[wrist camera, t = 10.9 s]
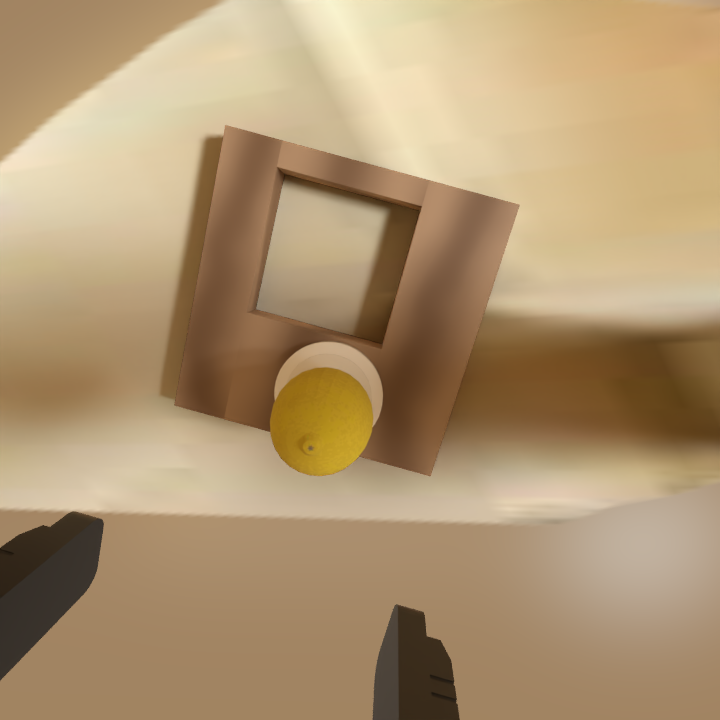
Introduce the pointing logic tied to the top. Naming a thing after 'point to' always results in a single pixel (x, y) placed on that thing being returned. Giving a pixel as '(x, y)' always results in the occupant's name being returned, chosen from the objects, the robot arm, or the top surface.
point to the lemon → (321, 421)
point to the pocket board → (286, 336)
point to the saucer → (336, 358)
